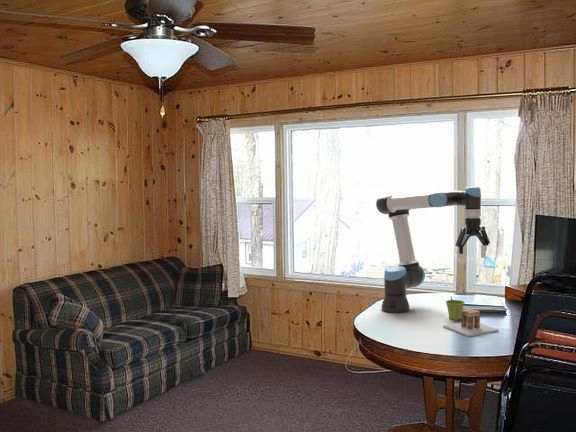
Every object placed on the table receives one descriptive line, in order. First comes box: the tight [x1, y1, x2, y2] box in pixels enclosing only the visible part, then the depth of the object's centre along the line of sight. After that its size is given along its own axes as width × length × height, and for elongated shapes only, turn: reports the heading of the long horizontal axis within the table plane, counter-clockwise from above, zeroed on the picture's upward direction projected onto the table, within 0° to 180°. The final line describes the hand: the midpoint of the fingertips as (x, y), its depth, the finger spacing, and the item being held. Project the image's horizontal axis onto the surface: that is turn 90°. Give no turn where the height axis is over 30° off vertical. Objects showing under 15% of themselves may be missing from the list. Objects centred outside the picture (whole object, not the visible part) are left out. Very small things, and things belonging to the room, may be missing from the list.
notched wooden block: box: [460, 308, 481, 329], centre depth 273 cm, size 6×6×8 cm
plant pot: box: [445, 299, 466, 321], centre depth 294 cm, size 9×9×9 cm
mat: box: [442, 321, 499, 338], centre depth 274 cm, size 18×18×1 cm
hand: (472, 259), depth 291 cm, fingers open, 13 cm apart
